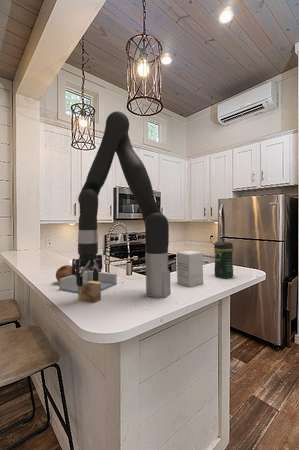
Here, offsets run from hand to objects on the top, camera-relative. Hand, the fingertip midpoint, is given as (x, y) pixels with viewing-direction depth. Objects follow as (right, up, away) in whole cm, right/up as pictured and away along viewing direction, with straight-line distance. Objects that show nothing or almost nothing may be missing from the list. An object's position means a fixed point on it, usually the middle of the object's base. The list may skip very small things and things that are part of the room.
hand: (88, 283), depth 91 cm
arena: (-4, -6, +17) cm, 18 cm away
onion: (-18, -6, +25) cm, 31 cm away
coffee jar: (+63, -5, +32) cm, 71 cm away
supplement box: (+43, -5, +20) cm, 48 cm away
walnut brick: (+1, -6, 0) cm, 6 cm away
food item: (-7, -6, +39) cm, 40 cm away
